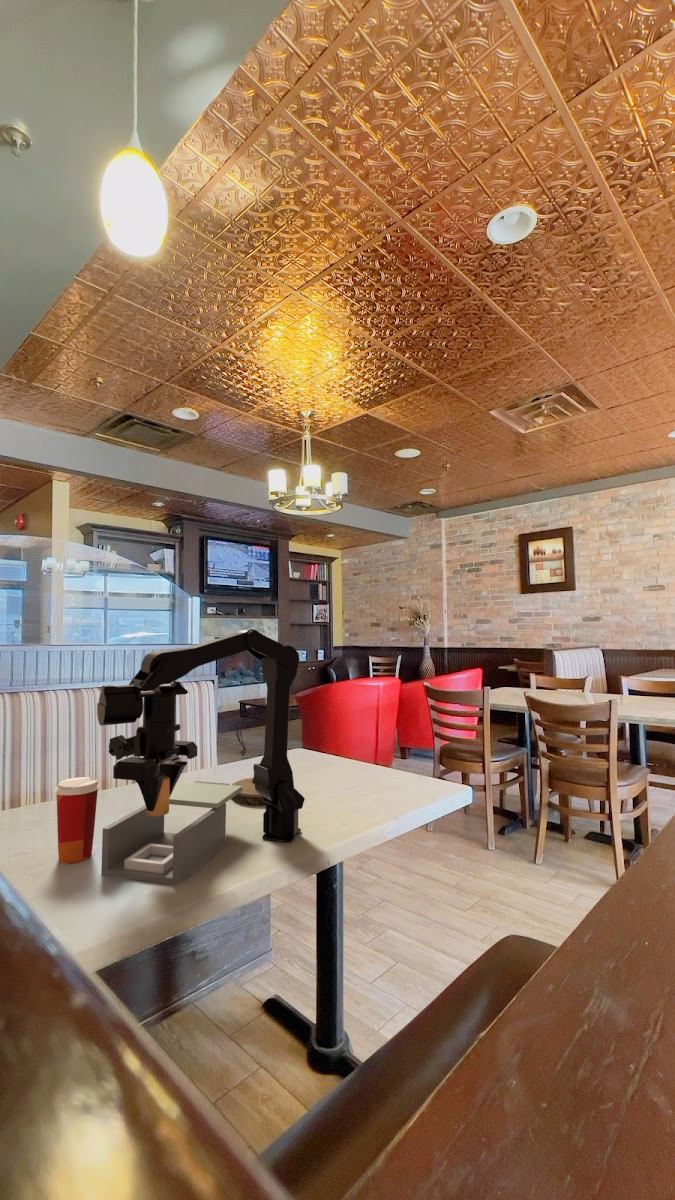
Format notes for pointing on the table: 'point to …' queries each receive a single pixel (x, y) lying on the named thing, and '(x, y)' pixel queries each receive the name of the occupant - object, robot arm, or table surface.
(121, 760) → the robot arm
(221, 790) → the lid
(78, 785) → the paper cup
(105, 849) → the housing
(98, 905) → the table surface
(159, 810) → the orange rounded cylinder
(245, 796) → the wood slice coaster
